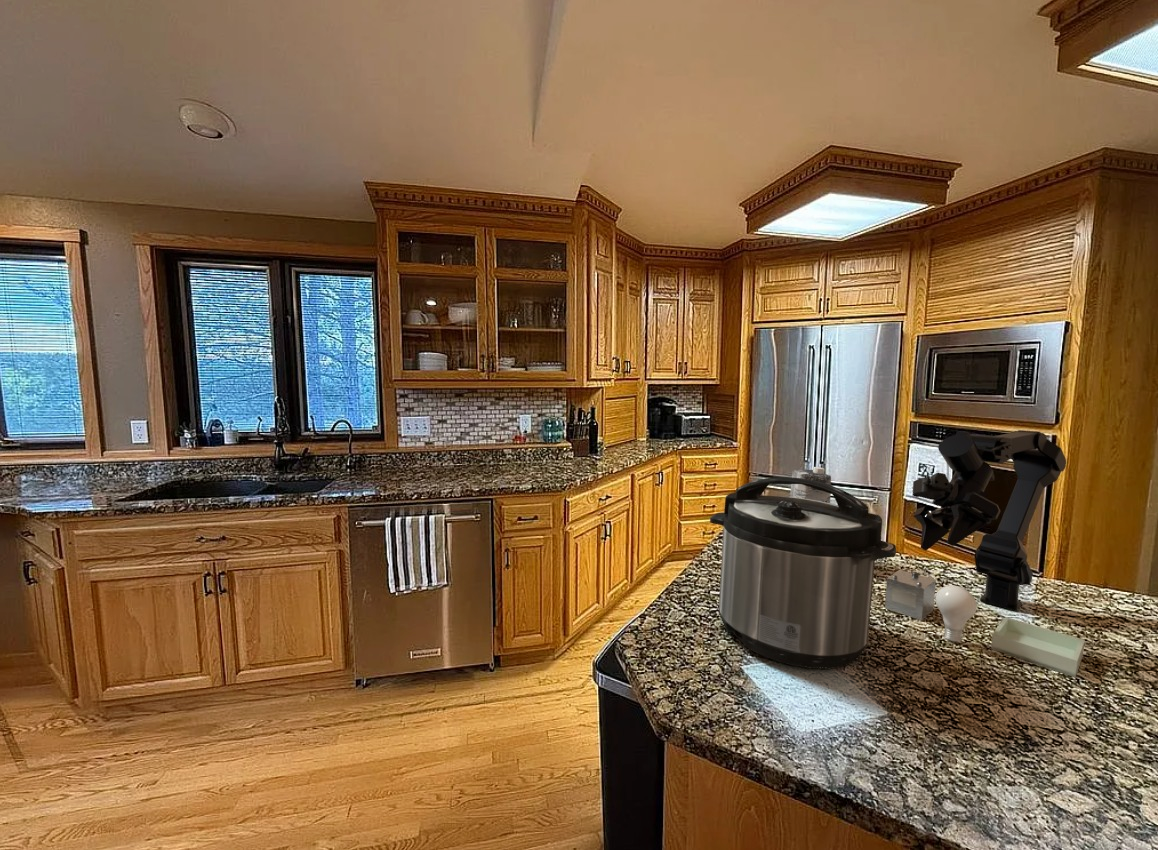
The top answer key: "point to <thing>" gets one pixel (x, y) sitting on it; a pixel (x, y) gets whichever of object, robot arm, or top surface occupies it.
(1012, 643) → the tray
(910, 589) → the block
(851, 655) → the pressure cooker
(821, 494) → the juice carton
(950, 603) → the lightbulb
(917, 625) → the top surface
